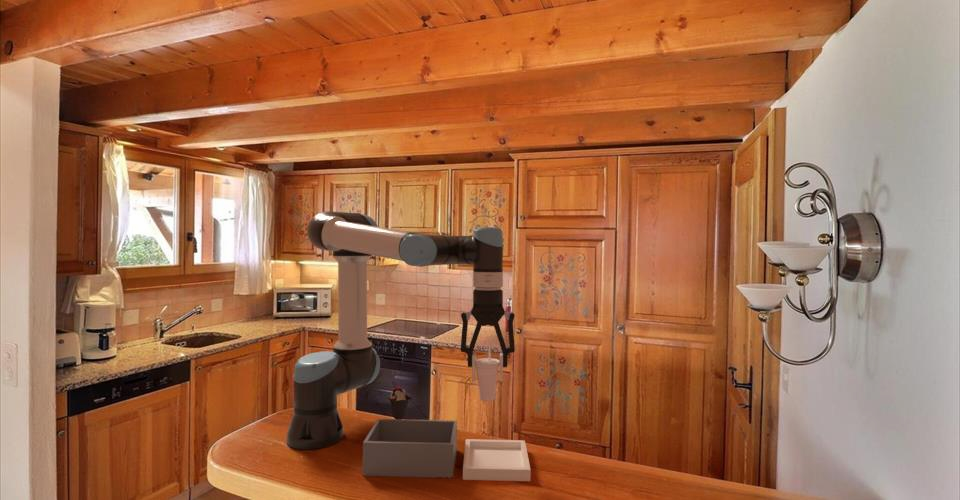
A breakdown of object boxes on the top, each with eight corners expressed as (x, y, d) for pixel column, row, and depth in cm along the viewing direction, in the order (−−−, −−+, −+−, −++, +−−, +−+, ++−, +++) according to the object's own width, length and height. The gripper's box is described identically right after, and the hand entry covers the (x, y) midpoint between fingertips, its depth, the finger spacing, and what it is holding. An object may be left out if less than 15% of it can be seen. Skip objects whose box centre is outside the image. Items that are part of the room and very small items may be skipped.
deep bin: (362, 475, 108) (363, 442, 108) (377, 448, 123) (377, 418, 123) (452, 477, 108) (453, 444, 108) (456, 449, 123) (457, 420, 122)
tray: (462, 479, 107) (462, 468, 107) (465, 448, 123) (465, 439, 123) (530, 481, 107) (530, 469, 107) (524, 450, 123) (524, 440, 123)
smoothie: (497, 404, 111) (497, 347, 111) (472, 402, 112) (472, 345, 112) (501, 395, 117) (502, 341, 117) (477, 394, 118) (477, 340, 118)
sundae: (382, 431, 134) (383, 381, 133) (401, 425, 139) (401, 376, 138) (396, 438, 129) (397, 386, 129) (414, 431, 134) (415, 381, 134)
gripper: (448, 289, 111) (448, 383, 111) (527, 290, 110) (526, 384, 111) (451, 287, 118) (450, 375, 118) (524, 287, 118) (524, 376, 118)
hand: (487, 379), depth 115 cm, fingers closed on smoothie, 6 cm apart
